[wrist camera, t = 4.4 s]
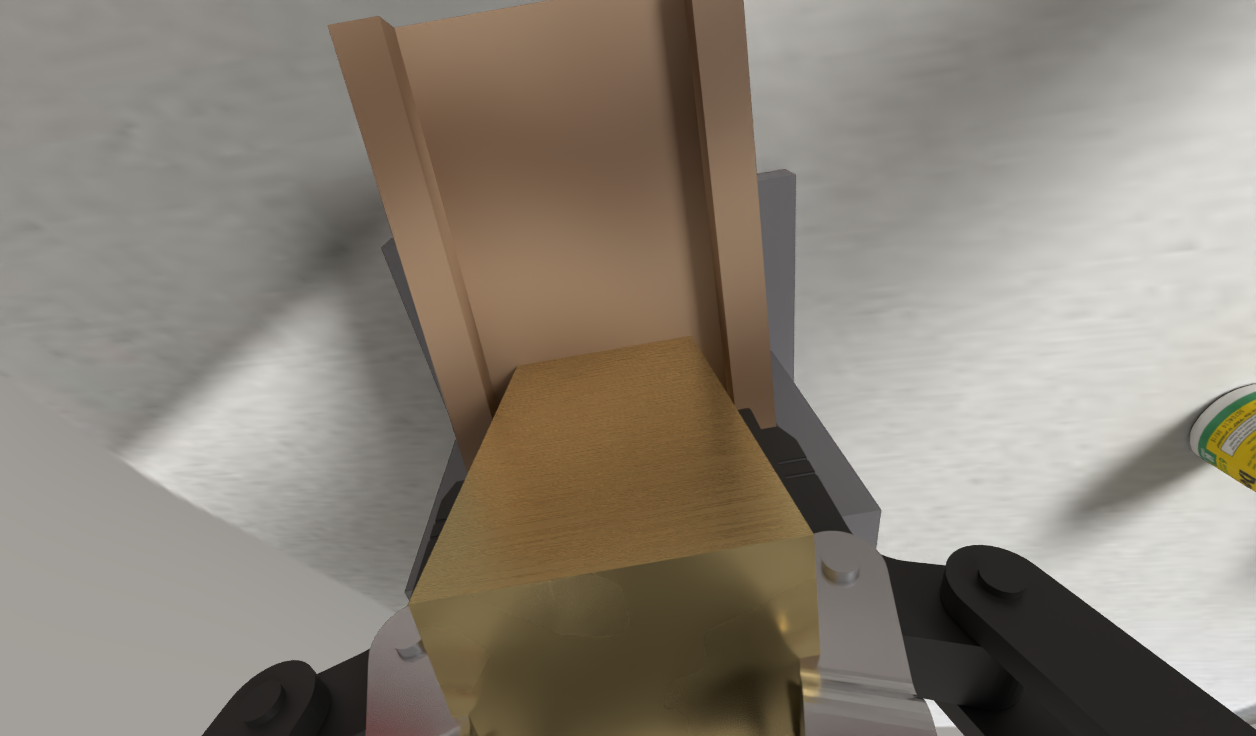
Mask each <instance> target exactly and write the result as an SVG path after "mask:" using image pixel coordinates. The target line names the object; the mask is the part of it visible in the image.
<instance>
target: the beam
mask: <svg viewBox="0 0 1256 736" xmlns="http://www.w3.org/2000/svg"><path fill="white" fill-rule="evenodd" d="M328 28H329V32H330V35H331V38H332V41H333V44H334V48H335V51H336V54H337V57H338V60H339V64H340V67H341V70H342V73H343V77H344V80H345V83H346V86H347V89H348V93H349V96H350V99H351V102H352V105H353V109H354V112H355V115H356V118H357V121H358V125H359V128H360V131H361V134H362V137H363V141H364V144H365V147H366V150H367V154H368V157H369V160H370V163H371V166H372V170H373V173H374V176H375V179H376V182H377V186H378V189H379V192H380V195H381V198H382V202H383V205H384V208H385V211H386V215H387V218H388V221H389V224H390V227H391V231H392V234H393V237H394V240H395V243H396V247H397V250H398V253H399V256H400V259H401V263H402V266H403V269H404V272H405V275H406V279H407V282H408V285H409V288H410V292H411V295H412V298H413V301H414V304H415V308H416V311H417V314H418V317H419V320H420V324H421V327H422V330H423V333H424V336H425V340H426V343H427V346H428V349H429V353H430V356H431V359H432V362H433V365H434V369H435V372H436V375H437V378H438V381H439V385H440V388H441V391H442V394H443V397H444V401H445V404H446V407H447V410H448V413H449V417H450V420H451V423H452V426H453V430H454V433H455V436H456V439H457V442H458V446H459V449H460V452H461V455H462V458H463V462H464V465H465V468H466V471H467V474H468V472H469V470H470V468H471V466H472V464H473V461H474V459H475V457H476V455H477V453H478V450H479V448H480V446H481V444H482V442H483V440H484V437H485V435H486V433H487V431H488V429H489V427H490V424H491V422H492V420H493V418H494V416H495V413H496V411H497V409H498V407H499V405H500V403H501V400H502V398H503V396H504V394H505V392H506V390H507V387H508V385H509V383H510V381H511V379H512V376H513V374H514V372H515V370H516V368H517V366H519V365H525V364H531V363H536V362H542V361H548V360H554V359H559V358H565V357H571V356H576V355H582V354H588V353H594V352H599V351H605V350H611V349H617V348H622V347H628V346H634V345H639V344H645V343H651V342H657V341H662V340H668V339H674V338H679V337H685V336H692V337H693V339H694V341H695V342H696V344H697V345H698V347H699V349H700V350H701V352H702V354H703V355H704V357H705V358H706V360H707V362H708V363H709V365H710V367H711V368H712V370H713V371H714V373H715V375H716V376H717V378H718V380H719V381H720V383H721V384H722V386H723V388H724V389H725V391H726V392H727V394H728V396H729V397H730V399H731V401H732V402H733V404H734V405H735V407H736V409H737V410H739V409H744V408H750V409H751V410H752V412H753V414H754V416H755V418H756V420H757V422H758V424H759V426H760V428H761V429H765V428H771V427H776V417H775V404H774V391H773V378H772V365H771V352H770V339H769V326H768V313H767V300H766V287H765V274H764V261H763V248H762V235H761V222H760V209H759V196H758V183H757V171H756V158H755V145H754V132H753V119H752V106H751V93H750V80H749V67H748V54H747V41H746V28H745V15H744V2H743V0H548V1H542V2H537V3H531V4H525V5H520V6H514V7H509V8H503V9H498V10H492V11H486V12H481V13H475V14H470V15H464V16H459V17H453V18H447V19H442V20H436V21H431V22H425V23H420V24H414V25H408V26H403V27H397V28H394V27H392V26H391V25H390V24H389V23H387V22H386V21H385V20H383V19H382V18H381V17H379V16H376V17H370V18H365V19H359V20H353V21H348V22H342V23H337V24H331V25H328Z"/></svg>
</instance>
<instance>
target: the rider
mask: <svg viewBox="0 0 1256 736" xmlns="http://www.w3.org/2000/svg"><path fill="white" fill-rule="evenodd" d="M408 606H409V609H410V611H411V614H412V617H413V619H414V622H415V624H416V627H417V629H418V632H419V634H420V637H421V639H422V642H423V644H424V647H425V649H426V652H427V655H428V657H429V660H430V662H431V665H432V667H433V670H434V672H435V675H436V677H437V680H438V682H439V685H440V687H441V690H442V692H443V695H444V698H445V700H446V703H447V705H448V708H449V710H450V713H451V715H452V717H457V716H463V715H469V717H470V719H471V721H472V723H473V725H474V727H475V730H476V732H477V734H478V736H800V692H799V658H803V657H809V656H815V655H820V637H819V618H818V599H817V581H816V562H815V544H814V534H813V532H812V531H811V529H810V527H809V526H808V524H807V522H806V521H805V519H804V518H803V516H802V514H801V513H800V511H799V509H798V508H797V506H796V505H795V503H794V501H793V500H792V498H791V496H790V495H789V493H788V492H787V490H786V488H785V487H784V485H783V483H782V482H781V480H780V479H779V477H778V475H777V474H776V472H775V470H774V469H773V467H772V466H771V464H770V462H769V461H768V459H767V457H766V456H765V454H764V453H763V451H762V449H761V448H760V446H759V444H758V443H757V441H756V440H755V438H754V436H753V435H752V433H751V431H750V430H749V428H748V427H747V425H746V423H745V422H744V420H743V418H742V417H741V415H740V414H739V412H738V410H737V409H736V407H735V405H734V404H733V402H732V401H731V399H730V397H729V396H728V394H727V392H726V391H725V389H724V388H723V386H722V384H721V383H720V381H719V380H718V378H717V376H716V375H715V373H714V371H713V370H712V368H711V367H710V365H709V363H708V362H707V360H706V358H705V357H704V355H703V354H702V352H701V350H700V349H699V347H698V345H697V344H696V342H695V341H694V339H693V337H692V336H685V337H679V338H674V339H668V340H662V341H657V342H651V343H645V344H639V345H634V346H628V347H622V348H617V349H611V350H605V351H599V352H594V353H588V354H582V355H576V356H571V357H565V358H559V359H554V360H548V361H542V362H536V363H531V364H525V365H519V366H517V368H516V370H515V372H514V374H513V376H512V379H511V381H510V383H509V385H508V387H507V390H506V392H505V394H504V396H503V398H502V400H501V403H500V405H499V407H498V409H497V411H496V413H495V416H494V418H493V420H492V422H491V424H490V427H489V429H488V431H487V433H486V435H485V437H484V440H483V442H482V444H481V446H480V448H479V450H478V453H477V455H476V457H475V459H474V461H473V464H472V466H471V468H470V470H469V472H468V474H467V477H466V479H465V481H464V483H463V485H462V487H461V490H460V492H459V494H458V496H457V498H456V501H455V503H454V505H453V507H452V509H451V511H450V514H449V516H448V518H447V520H446V522H445V524H444V527H443V529H442V531H441V533H440V535H439V538H438V540H437V542H436V544H435V546H434V548H433V551H432V553H431V555H430V557H429V559H428V561H427V564H426V566H425V568H424V570H423V572H422V575H421V577H420V579H419V581H418V583H417V585H416V588H415V590H414V592H413V594H412V596H411V598H410V601H409V603H408Z"/></svg>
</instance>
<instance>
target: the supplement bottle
mask: <svg viewBox="0 0 1256 736" xmlns="http://www.w3.org/2000/svg"><path fill="white" fill-rule="evenodd" d="M1190 445H1191V449H1192V451H1193V452H1194V453H1195V454H1196V455H1198V456H1199V457H1201V458H1202V459H1204V460H1205V461H1207V462H1208V463H1210V464H1211V465H1213V466H1215V467H1216V468H1218V469H1219V470H1221V471H1223V472H1224V473H1226V474H1227V475H1229V476H1230V477H1232V478H1234V479H1235V480H1237V481H1238V482H1240V483H1242V484H1243V485H1245V486H1246V487H1248V488H1250V489H1252V490H1253V491H1255V492H1256V384H1253V385H1250V386H1246V387H1242V388H1239V389H1237V390H1234V391H1232V392H1230V393H1228V394H1226V395H1224V396H1223V397H1221V398H1219V399H1218V400H1216V401H1215V402H1214V403H1212V404H1211V405H1210V406H1209V407H1208V408H1207V409H1206V410H1205V411H1204V412H1203V413H1202V414H1201V415H1200V417H1199V418H1198V419H1197V420H1196V422H1195V424H1194V425H1193V427H1192V429H1191V432H1190Z"/></svg>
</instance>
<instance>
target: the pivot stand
mask: <svg viewBox="0 0 1256 736" xmlns="http://www.w3.org/2000/svg"><path fill="white" fill-rule="evenodd" d="M757 183H758V196H759V209H760V222H761V235H762V248H763V261H764V274H765V287H766V300H767V313H768V326H769V339H770V352H771V365H772V378H773V391H774V404H775V417H776V427H777V426H779V427H780V428H781V429H783V430H784V431H785V432H787V433H788V434H790V435H791V436H792V437H794V438H795V439H796V440H797V441H798V443H799V445H800V446H801V448H802V450H803V451H804V453H805V455H806V457H807V460H809V462H810V463H811V465H812V467H813V469H814V470H815V474H816V475H818V477H819V479H820V480H821V482H822V484H823V486H824V487H825V489H826V491H827V492H828V494H829V496H830V497H831V499H832V501H833V503H834V504H835V506H836V508H837V509H838V511H839V513H840V514H841V516H842V518H843V520H844V521H845V523H846V525H847V526H848V528H849V530H850V531H851V532H852V534H853V535H855V536H858V537H860V538H861V539H863V540H865V541H867V542H868V543H869V544H871V545H872V546H873V547H874V548H875V549H876V546H877V539H878V531H879V524H880V516H881V509H880V507H879V506H878V504H877V503H876V501H875V500H874V499H873V497H872V496H871V494H870V493H869V491H868V490H867V488H866V487H865V485H864V484H863V482H862V481H861V480H860V478H859V477H858V475H857V474H856V472H855V471H854V469H853V468H852V466H851V465H850V464H849V462H848V461H847V459H846V458H845V456H844V455H843V453H842V452H841V450H840V449H839V448H838V446H837V445H836V443H835V442H834V440H833V439H832V437H831V436H830V434H829V433H828V431H827V430H826V429H825V427H824V426H823V424H822V423H821V421H820V420H819V418H818V417H817V415H816V414H815V413H814V411H813V410H812V408H811V407H810V405H809V404H808V402H807V401H806V399H805V398H804V396H803V395H802V394H801V392H800V391H799V389H798V388H797V386H796V385H795V383H794V297H795V207H796V174H794V173H792V172H790V171H788V170H786V169H783V170H778V171H772V172H766V173H761V174H757ZM381 249H382V251H383V254H384V256H385V259H386V261H387V264H388V266H389V268H390V271H391V273H392V276H393V278H394V281H395V283H396V286H397V288H398V291H399V293H400V296H401V298H402V301H403V303H404V306H405V308H406V310H407V313H408V315H409V318H410V320H411V323H412V325H413V328H414V330H415V333H416V335H417V338H418V340H419V343H420V345H421V347H422V350H423V352H424V355H425V357H426V360H427V362H428V365H429V367H430V370H431V372H432V375H433V377H434V380H435V382H436V384H437V387H438V389H439V392H440V394H441V397H442V399H443V402H444V404H445V401H444V397H443V394H442V391H441V388H440V385H439V381H438V378H437V375H436V372H435V369H434V365H433V362H432V359H431V356H430V353H429V349H428V346H427V343H426V340H425V336H424V333H423V330H422V327H421V324H420V320H419V317H418V314H417V311H416V308H415V304H414V301H413V298H412V295H411V292H410V288H409V285H408V282H407V279H406V275H405V272H404V269H403V266H402V263H401V259H400V256H399V253H398V250H397V247H396V243H395V240H394V238H393V239H390V240H389V241H388V242H387V243H386V244H385V245H384V246H382V247H381ZM445 407H446V404H445ZM446 409H447V407H446ZM447 412H448V410H447ZM448 414H449V413H448ZM466 477H467V471H466V468H465V465H464V462H463V458H462V455H461V452H460V449H459V446H458V442H457V439H456V440H455V443H454V446H453V449H452V452H451V455H450V458H449V461H448V464H447V467H446V470H445V473H444V476H443V479H442V482H441V485H440V488H439V490H438V493H437V496H436V499H435V502H434V505H433V508H432V511H431V514H430V517H429V520H428V523H427V526H426V529H425V532H424V535H423V538H422V541H421V544H420V547H419V550H418V553H417V556H416V559H415V562H414V565H413V568H412V571H411V574H410V577H409V580H408V583H407V586H406V589H405V594H406V595H407V597H408V599H409V600H410V597H411V594H412V591H413V588H414V585H415V581H416V578H417V575H418V572H419V569H420V566H421V563H422V559H423V556H424V553H425V550H426V547H427V544H428V541H430V534H431V531H432V528H433V525H434V524H435V519H436V516H437V513H438V509H439V506H440V503H441V500H442V499H443V498H444V496H445V495H446V494H447V493H448V491H449V490H450V489H451V488H452V486H453V485H454V484H455V483H456V482H457V481H462V480H465V479H466Z"/></svg>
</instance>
